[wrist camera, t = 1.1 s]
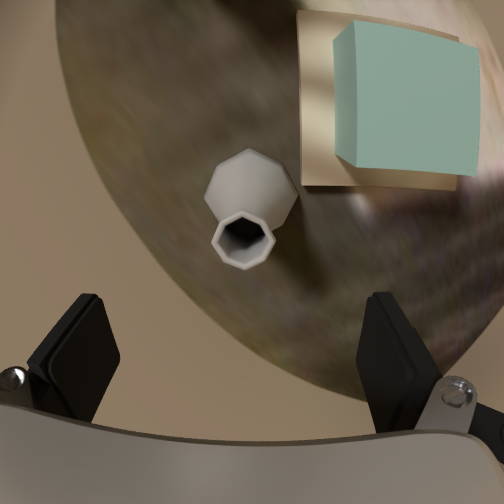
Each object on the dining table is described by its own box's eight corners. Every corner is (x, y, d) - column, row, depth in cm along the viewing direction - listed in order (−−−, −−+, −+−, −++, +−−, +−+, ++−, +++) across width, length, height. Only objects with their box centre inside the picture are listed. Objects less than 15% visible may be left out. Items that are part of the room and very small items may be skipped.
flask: (313, 193, 26) (340, 240, 17) (253, 252, 28) (247, 322, 19) (248, 131, 24) (238, 143, 15) (188, 197, 26) (150, 244, 17)
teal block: (332, 40, 19) (353, 19, 14) (437, 56, 19) (478, 48, 13) (334, 153, 23) (356, 167, 18) (436, 160, 23) (476, 176, 17)
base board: (296, 14, 19) (297, 9, 18) (451, 39, 19) (458, 37, 18) (300, 182, 25) (301, 185, 24) (449, 187, 25) (455, 191, 24)
